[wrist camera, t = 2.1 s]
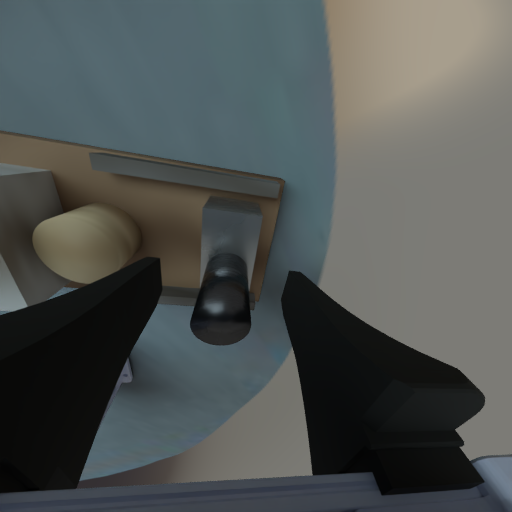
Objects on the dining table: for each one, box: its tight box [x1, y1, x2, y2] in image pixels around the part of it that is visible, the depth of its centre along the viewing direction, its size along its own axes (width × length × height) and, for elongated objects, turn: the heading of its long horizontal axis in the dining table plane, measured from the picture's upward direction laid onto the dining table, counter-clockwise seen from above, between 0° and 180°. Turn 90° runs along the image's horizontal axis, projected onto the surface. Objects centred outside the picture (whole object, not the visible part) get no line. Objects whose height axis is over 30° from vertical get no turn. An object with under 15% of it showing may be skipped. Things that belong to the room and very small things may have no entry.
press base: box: [0, 131, 285, 311], centre depth 12 cm, size 10×18×6 cm, turn 81°
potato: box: [32, 203, 142, 284], centre depth 12 cm, size 4×4×3 cm
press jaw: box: [190, 195, 263, 345], centre depth 11 cm, size 7×3×7 cm, turn 171°
